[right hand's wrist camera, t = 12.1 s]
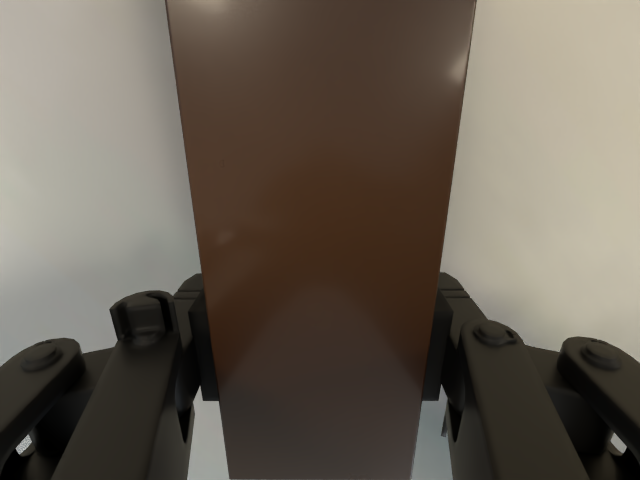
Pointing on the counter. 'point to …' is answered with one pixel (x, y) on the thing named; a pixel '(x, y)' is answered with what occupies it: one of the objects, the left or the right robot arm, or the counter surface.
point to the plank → (320, 218)
